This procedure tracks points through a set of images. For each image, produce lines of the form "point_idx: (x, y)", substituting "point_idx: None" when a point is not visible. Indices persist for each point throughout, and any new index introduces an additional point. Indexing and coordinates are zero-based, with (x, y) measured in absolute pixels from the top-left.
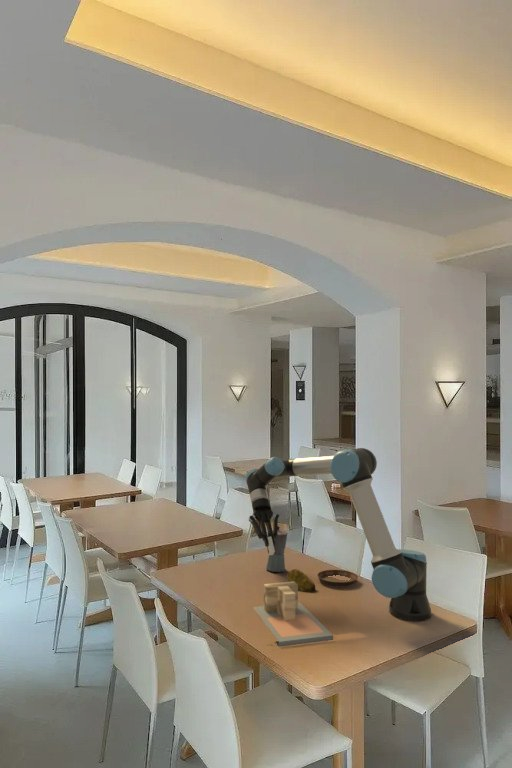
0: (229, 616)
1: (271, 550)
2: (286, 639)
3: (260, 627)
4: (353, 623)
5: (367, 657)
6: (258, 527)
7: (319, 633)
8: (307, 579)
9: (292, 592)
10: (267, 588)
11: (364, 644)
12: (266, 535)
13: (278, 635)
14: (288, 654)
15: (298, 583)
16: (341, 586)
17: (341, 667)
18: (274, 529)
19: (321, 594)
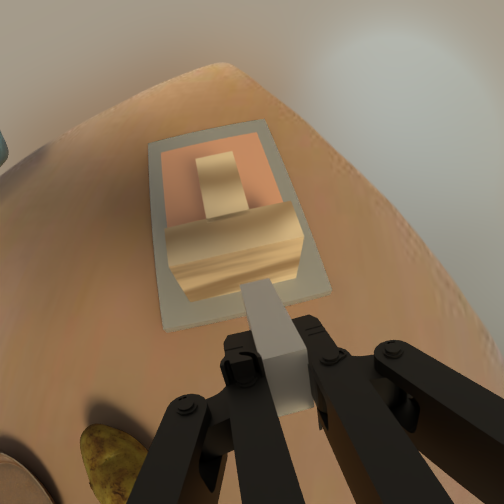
0: (391, 257)
1: (266, 283)
2: (248, 125)
3: (303, 194)
4: (75, 219)
5: (125, 111)
6: (468, 406)
7: (172, 147)
8: (95, 455)
9: (203, 164)
10: (289, 202)
11: (105, 142)
12: (324, 354)
13: (263, 137)
14: (249, 107)
15: (136, 454)
16: (16, 463)
17: (176, 88)
18: (194, 466)
19: (78, 426)
